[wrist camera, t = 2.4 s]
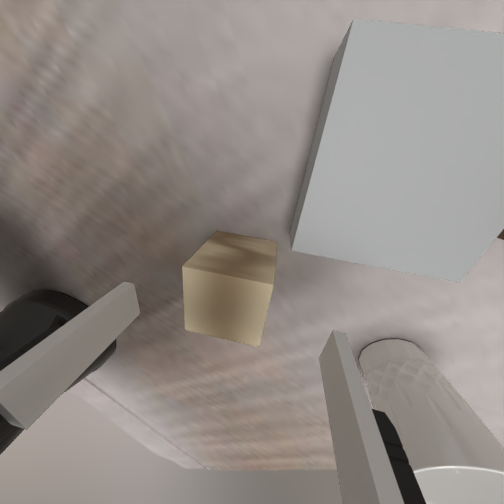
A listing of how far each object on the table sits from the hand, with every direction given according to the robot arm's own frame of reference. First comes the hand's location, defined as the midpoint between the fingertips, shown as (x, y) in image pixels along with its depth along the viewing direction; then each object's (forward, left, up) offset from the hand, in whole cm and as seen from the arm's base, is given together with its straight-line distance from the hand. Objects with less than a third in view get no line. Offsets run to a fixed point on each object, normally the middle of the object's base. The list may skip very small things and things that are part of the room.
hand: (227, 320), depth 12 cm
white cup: (+19, -9, -8) cm, 22 cm away
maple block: (0, 0, -8) cm, 8 cm away
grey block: (+10, +10, -8) cm, 16 cm away
